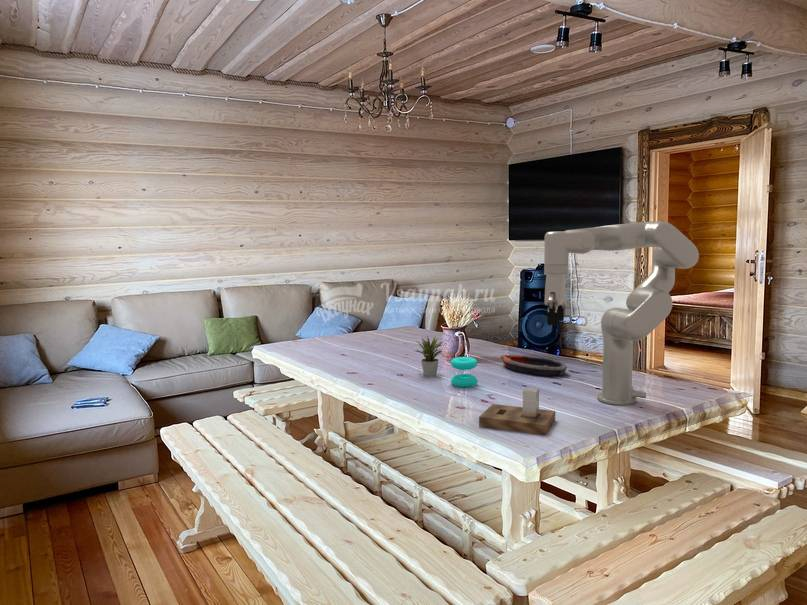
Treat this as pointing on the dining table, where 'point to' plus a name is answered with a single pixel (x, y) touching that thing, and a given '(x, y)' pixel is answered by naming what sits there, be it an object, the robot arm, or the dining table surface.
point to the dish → (534, 365)
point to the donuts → (464, 379)
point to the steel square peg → (531, 403)
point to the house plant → (430, 356)
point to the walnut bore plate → (516, 419)
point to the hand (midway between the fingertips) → (555, 322)
